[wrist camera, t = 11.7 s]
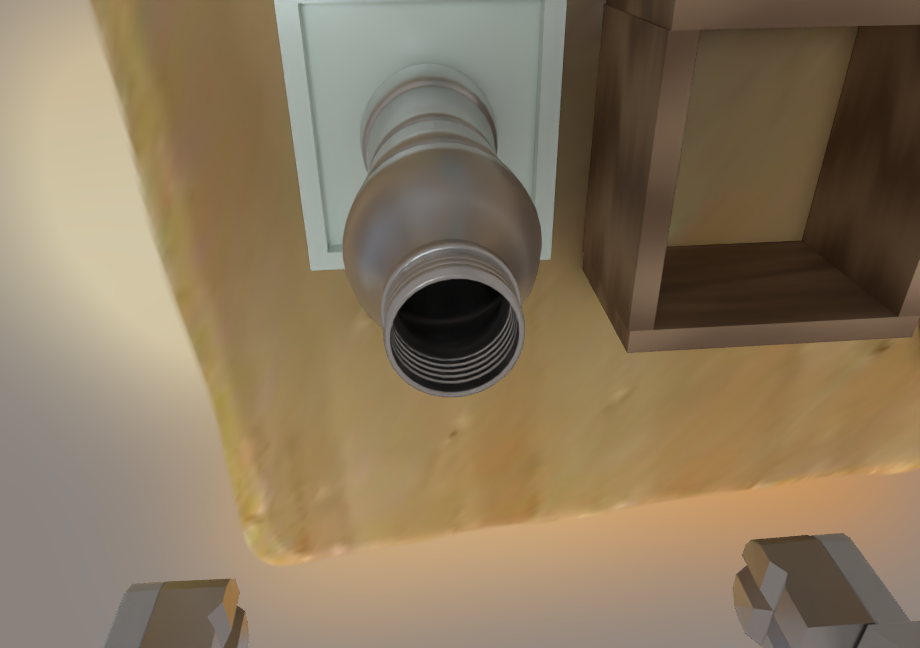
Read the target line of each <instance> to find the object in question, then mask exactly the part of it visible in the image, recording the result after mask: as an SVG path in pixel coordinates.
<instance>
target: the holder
mask: <svg viewBox="0 0 920 648" xmlns="http://www.w3.org/2000/svg"><path fill="white" fill-rule="evenodd" d="M840 26H859V30H858V34H857V37H856V41H855V45H854V49H853V52H852V56H851V60H850V64H849V67H848V71H847V75H846V79H845V82H844V86H843V90H842V94H841V97H840V101H839V105H838V109H837V112H836V116H835V120H834V124H833V127H832V131H831V135H830V139H829V143H828V146H827V150H826V154H825V158H824V161H823V165H822V169H821V173H820V176H819V180H818V184H817V188H816V191H815V195H814V199H813V203H812V206H811V210H810V214H809V218H808V221H807V225H806V229H805V233H804V236H803V240H802V241H789V242H767V243H745V244H723V245H701V246H679V247H666V246H667V239H668V233H669V227H670V220H671V214H672V207H673V201H674V195H675V188H676V182H677V175H678V169H679V163H680V156H681V150H682V143H683V137H684V131H685V124H686V118H687V111H688V105H689V99H690V92H691V86H692V80H693V73H694V67H695V60H696V54H697V48H698V41H699V35H700V30H716V29H758V28H799V27H840ZM583 252H584V259H583V271H584V273H585V275H586V277H587V279H588V280H589V282H590V284H591V286H592V288H593V290H594V292H595V293H596V295H597V297H598V299H599V301H600V303H601V305H602V307H603V308H604V310H605V312H606V314H607V316H608V318H609V320H610V322H611V323H612V325H613V327H614V329H615V331H616V333H617V335H618V336H619V338H620V340H621V342H622V344H623V346H624V348H625V350H626V351H627V353H634V352H652V351H670V350H688V349H706V348H724V347H742V346H760V345H778V344H796V343H814V342H832V341H851V340H869V339H887V338H905V337H912V336H913V334H914V331H915V328H916V326H917V323H918V321H919V318H920V0H607V3H606V4H604V14H603V25H602V37H601V48H600V59H599V71H598V82H597V93H596V105H595V116H594V127H593V139H592V150H591V161H590V173H589V184H588V195H587V207H586V218H585V229H584V240H583Z"/></svg>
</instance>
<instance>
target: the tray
mask: <svg viewBox="0 0 920 648" xmlns="http://www.w3.org/2000/svg"><path fill="white" fill-rule="evenodd" d="M274 4H275V11H276V19H277V26H278V33H279V41H280V48H281V55H282V63H283V70H284V77H285V85H286V92H287V99H288V107H289V114H290V121H291V129H292V136H293V143H294V151H295V158H296V165H297V173H298V180H299V187H300V195H301V202H302V209H303V217H304V224H305V231H306V239H307V246H308V253H309V261H310V268H311V271H314V270H335V269H345V266H344V261H343V234H344V229H345V224H346V220H347V217H348V214H349V211H350V208H351V206H352V204H353V201H354V199H355V197H356V194H357V192H358V191H359V189H360V188H361V186H362V184H363V183H364V181H365V179H366V177H367V175H368V173H367V171H366V168H365V166H364V162H363V157H362V152H361V147H360V126H361V121H362V116H363V113H364V111H365V108H366V106H367V103H368V101H369V100H370V98H371V97H372V95H373V94H374V92H375V91H376V89H377V88H378V87H379V86H380V85H381V84H382V83H383V82H384V81H385V80H386V79H388V78H389V77H391V76H392V75H394V74H395V73H397V72H398V71H400V70H402V69H405V68H407V67H410V66H412V65H418V64H425V63H427V64H440V65H443V66H447V67H450V68H453V69H456V70H457V71H459V72H461V73H463V74H465V75H467V76H468V77H469V78H470V79H472V80H473V81H474V82H475V83H476V84H478V86H479V87H480V88H481V89H482V91H483V92H484V93H485V94H486V96H487V98H488V100H489V102H490V103H491V105H492V107H493V110H494V114H495V117H496V121H497V130H498V149H497V157H498V158H499V159H500V160H501V161H502V162H503V163H504V164H505V165H506V166H507V167H508V168H510V170H511V171H512V172H513V173H514V174H515V176H516V177H517V178H518V179H519V180H520V182H521V183H522V184H523V186H524V188H525V189H526V191H527V192H528V194H529V196H530V198H531V200H532V202H533V204H534V206H535V208H536V210H537V214H538V218H539V221H540V225H541V236H542V249H541V256H540V260H551V245H552V229H553V213H554V197H555V181H556V165H557V149H558V133H559V117H560V101H561V86H562V70H563V54H564V38H565V22H566V6H567V0H274Z"/></svg>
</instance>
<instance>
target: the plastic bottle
mask: <svg viewBox="0 0 920 648" xmlns="http://www.w3.org/2000/svg"><path fill="white" fill-rule="evenodd" d="M360 147H361V152H362V157H363V162H364V166H365V168H366V171H367V173H368V175H367V177H366V179H365V181H364V183H363V184H362V186H361V188H360V189H359V191H358V192H357V194H356V197H355V199H354V201H353V204H352V206H351V208H350V211H349V214H348V217H347V220H346V224H345V229H344V234H343V261H344V266H345V270H346V275H347V278H348V280H349V282H350V284H351V286H352V289H353V291H354V293H355V295H356V297H357V299H358V301H359V303H360V304H361V306H362V307H363V308H364V310H365V311H366V313H367V314H368V315H369V317H370V318H371V319H372V320H374V321H375V322H376V323H377V324H378V325H379V326H380V327H381V328H382V329H383V330H384V344H385V349H386V353H387V356H388V358H389V361H390V363H391V365H392V367H393V368H394V370H395V371H396V372H397V374H398V375H399V376H400V377H401V378H402V379H403V380H404V381H405V382H407V383H408V384H409V385H411V386H412V387H414V388H416V389H417V390H419V391H422V392H425V393H427V394H430V395H435V396H440V397H461V396H468V395H472V394H475V393H478V392H481V391H483V390H485V389H487V388H489V387H491V386H493V385H494V384H496V383H497V382H498V381H499V380H501V379H502V378H503V377H504V376H505V375H506V374H507V373H508V372H509V371H510V370H511V369H512V368H513V366H514V364H515V363H516V361H517V359H518V358H519V355H520V353H521V350H522V347H523V343H524V336H525V325H524V316H523V313H522V309H521V307H522V306H523V304H524V302H525V301H526V299H527V297H528V296H529V294H530V292H531V290H532V287H533V284H534V281H535V279H536V276H537V272H538V267H539V262H540V256H541V249H542V236H541V225H540V221H539V218H538V214H537V210H536V208H535V206H534V204H533V202H532V200H531V198H530V196H529V194H528V192H527V191H526V189H525V188H524V186H523V184H522V183H521V182H520V180H519V179H518V178H517V177H516V176H515V174H514V173H513V172H512V171H511V170H510V168H508V167H507V166H506V165H505V164H504V163H503V162H502V161H501V160H500V159H499V158H498V157H497V149H498V130H497V121H496V117H495V114H494V110H493V107H492V105H491V103H490V102H489V100H488V98H487V96H486V94H485V93H484V92H483V91H482V89H481V88H480V87H479V86H478V84H476V83H475V82H474V81H473V80H472V79H470V78H469V77H468V76H467V75H465V74H463V73H461V72H459V71H457V70H456V69H453V68H450V67H447V66H443V65H440V64H427V63H425V64H418V65H412V66H410V67H407V68H405V69H402V70H400V71H398V72H397V73H395V74H394V75H392V76H391V77H389V78H388V79H386V80H385V81H384V82H383V83H382V84H381V85H380V86H379V87H378V88H377V89H376V91H375V92H374V94H373V95H372V97H371V98H370V100H369V101H368V103H367V106H366V108H365V111H364V113H363V116H362V121H361V126H360Z"/></svg>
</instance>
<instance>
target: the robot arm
mask: <svg viewBox="0 0 920 648" xmlns="http://www.w3.org/2000/svg"><path fill="white" fill-rule="evenodd" d="M742 556H743V558H744V560H745V562H746V564H747V566H745V567H744V568H743V569H742V570H741V571H739V572H738V573H737V574H736V578H735V582H734V586H733V595H734V605H735V609H736V612H737V616H738V619H739V621H740V623H741V626H742V628H743V630H744V632H745V634H746V635H748V636H749V637H750V638H751V639H753V640H754V641H755V642H757V643H758V644H759V645H760V646H761V648H920V621H910V619H909V618H908V617H907V615H906V614H905V612H904V611H903V610H902V608H901V607H900V606H899V604H898V603H897V601H896V600H895V599H894V597H893V596H892V595H891V593H890V592H889V591H888V589H887V588H886V586H885V585H884V584H883V582H882V581H881V580H880V578H879V577H878V575H877V574H876V573H875V571H874V570H873V569H872V567H871V566H870V564H869V563H868V562H867V560H866V559H865V558H864V556H863V555H862V553H861V552H860V551H859V549H858V548H857V547H856V545H855V544H854V542H853V541H852V540H851V539H850V538H849V537H848V536H846V535H845V534H843V533H840V534H839V533H838V534H824V535H812V536H809V535H802V536H790V537H780V538H769V539H768V538H767V539H756V540H750V541H749V543H747V544H746V545H745V548H744V551H743V554H742ZM239 593H240V592H239V589H238V586H237V583H236V580H235V579H216V580H215V579H214V580H192V581H170V582H155V583H137V584H132V585H131V586H130V588H129V589H128V590H127V591H126V593H125V594H124V596H123V598H122V601H121V603H120V606H119V608H118V611H117V613H116V616H115V618H114V621H113V623H112V626H111V628H110V631H109V633H108V636H107V638H106V641H105V644H104V646H103V648H248V641H249V633H248V621H247V618H246V613H245V611H244V610H243V609H241V608H240V607H238V606H237V603H238V598H239Z"/></svg>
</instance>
